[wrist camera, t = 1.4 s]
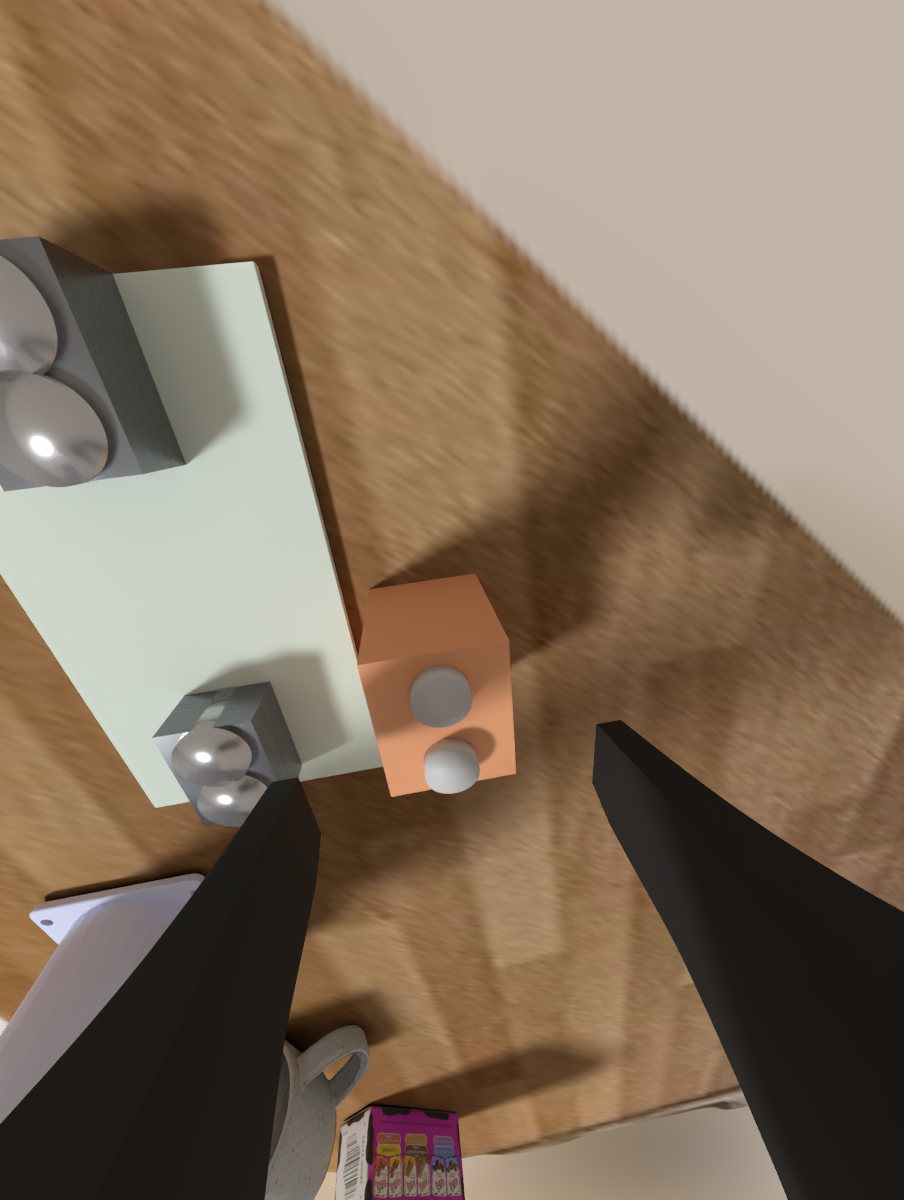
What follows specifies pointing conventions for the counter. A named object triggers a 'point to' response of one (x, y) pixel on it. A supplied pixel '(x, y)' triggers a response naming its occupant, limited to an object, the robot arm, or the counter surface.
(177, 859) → the counter surface
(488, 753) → the orange block with knobs
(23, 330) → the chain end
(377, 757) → the mat
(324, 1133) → the ceramic mug
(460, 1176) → the candy bar box
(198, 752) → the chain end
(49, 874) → the counter surface
